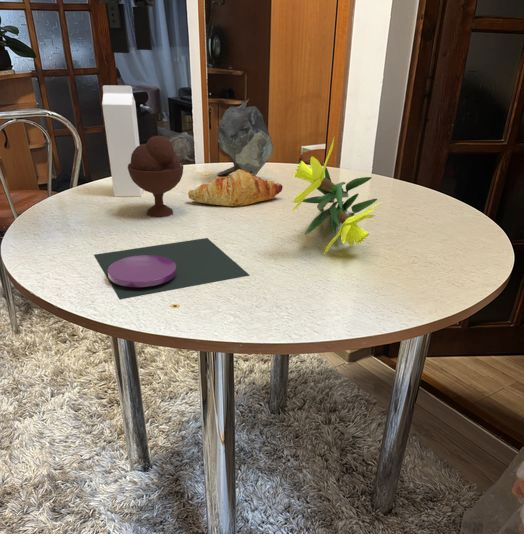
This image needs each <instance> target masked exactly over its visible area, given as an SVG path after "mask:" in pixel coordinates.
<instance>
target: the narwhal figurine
mask: <svg viewBox="0 0 524 534" xmlns="http://www.w3.org/2000/svg"><path fill="white" fill-rule="evenodd" d="M249 100H250V98H248V99H246V100H245V101H244V102H242V103H241V104H240V105H239V106H234V105H233V106H232V105H231V106H229V108H226V109H225V111H224V113H223V115H222V118H221V120H220V123H219V125H218V127H217V129H216V131H217V142H218V144H219V147H220V149H221V150H222V151H223V152H224V153H226V154H227V155H228V156H230V158H231V160H232V164H233V166H231V167H228V168H226V169H224V170H222V171H219V172H217V175H216V176H217V177H227V176H228V175H229V174H230V173H232V172H235V171H236V170H238V169H240V170H245V171H248V172H250V173H251V174H252V175H253V176H258V173H259V172H260V170H262V168H263V167H264V166H265V164H266V163H267V162H268V161H269V160H270V158H271V156H272V155H273V153H274V150H275V149H274V146H273V142H272V137H271V136H270V133H269V130H268V127H267V125H266V124H265V121H264V116H263V114H262V112H261V111H260V110H259V107H257V106H256V105H255V106H254V105H253V106H247V105H248V103H249Z"/></svg>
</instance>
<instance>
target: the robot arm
mask: <svg viewBox="0 0 524 534" xmlns="http://www.w3.org/2000/svg"><path fill="white" fill-rule="evenodd" d="M98 1H99V3H105V11H106V18H107V26H108V36H109V43H110V51H111V54H130V53H131V51H130V43H129V33H128V24H127V16H126V6H125V3H122V1H123V0H98ZM132 1H133V5H134V6H132V16H133V17H132V18H133V29H134V36H135V46H136V50H137V51H153V42H152V29H151V17H150V7H151V8H152V7H154V0H132Z"/></svg>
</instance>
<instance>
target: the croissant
mask: <svg viewBox="0 0 524 534" xmlns="http://www.w3.org/2000/svg"><path fill="white" fill-rule="evenodd" d="M282 191H283V185H282V184H281V183H279V182H278V183H277V182H274V181H272V180H268V179H262V177H260V176H258V175H256V176H253V175H252V174H251V173H250V172H248V171H245V170H240V169H238V170H236V171H235V172H232V173H230V174H229V175H228V176H219V177H216V178H214V179H213V180H212V181H209V182H208V183H201V184H200V185H198V186H197V187H195V189H190V190H189V191H188V192H187V195H188V199H190V200H191V201H194V202H197V203H202V204H207V205H214V206H215V205H217V206H223V207H224V206H225V207H235V206H237V207H239V206H240V207H242V206H248V205H252V204H256V203H259V202H264V201H267V200H271V199H273V198H275V197H276V196H277V195H279V194H280V193H281V192H282Z"/></svg>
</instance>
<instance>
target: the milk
mask: <svg viewBox="0 0 524 534" xmlns="http://www.w3.org/2000/svg"><path fill="white" fill-rule="evenodd" d="M101 105H102V113H103V114H102V115H103V120H104V129H105V136H106V144H107V151H108V159H109V167H110V175H111V181H112V190H113V196H114V198H117V197H119V198H120V197H121V198H122V197H124V198H125V197H128V198H129V197H139V198H140V197H142V195H143V193H144V190H143V189H141V188H140V187H139V186H138V185H136V184H135V183H134V182H133V180H132V178H131V177H130V174H129V171H128V164H130V163H131V154H132V153H133V151H134V150H135V148H136V147H138V146H139V145H140V136H139V126H138V115H137V107H136V106H137V105H136V100H135V97H134V94H133V87H132V85H112V84H111V85H109V84H108V85H105V84H104V85H102V101H101Z"/></svg>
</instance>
